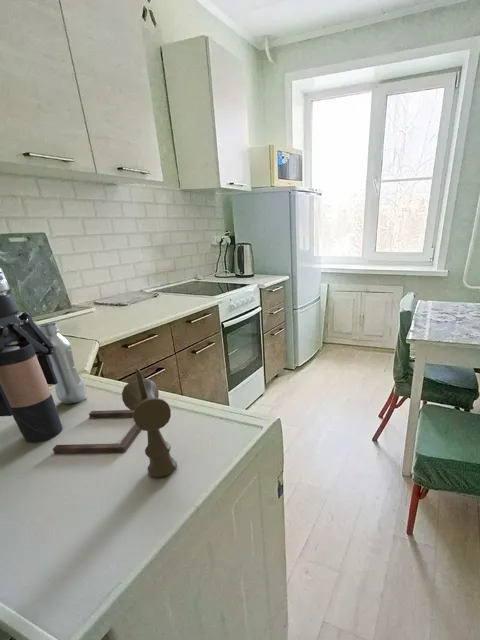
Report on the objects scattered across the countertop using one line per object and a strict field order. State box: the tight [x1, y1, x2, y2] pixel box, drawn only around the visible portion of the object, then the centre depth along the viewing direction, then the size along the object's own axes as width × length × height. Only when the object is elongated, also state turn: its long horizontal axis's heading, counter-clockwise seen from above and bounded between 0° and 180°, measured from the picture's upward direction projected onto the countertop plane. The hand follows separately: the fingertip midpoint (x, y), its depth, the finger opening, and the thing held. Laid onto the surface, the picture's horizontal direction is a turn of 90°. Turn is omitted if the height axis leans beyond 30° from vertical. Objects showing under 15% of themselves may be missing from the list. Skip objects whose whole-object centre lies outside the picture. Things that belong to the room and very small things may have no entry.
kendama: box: [121, 368, 178, 478], centre depth 59 cm, size 6×10×20 cm, turn 33°
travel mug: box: [0, 341, 63, 444], centre depth 72 cm, size 8×8×20 cm
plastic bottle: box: [38, 322, 88, 405], centre depth 86 cm, size 6×7×20 cm
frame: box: [52, 409, 142, 455], centre depth 76 cm, size 14×15×1 cm
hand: (30, 398), depth 73 cm, fingers open, 13 cm apart
